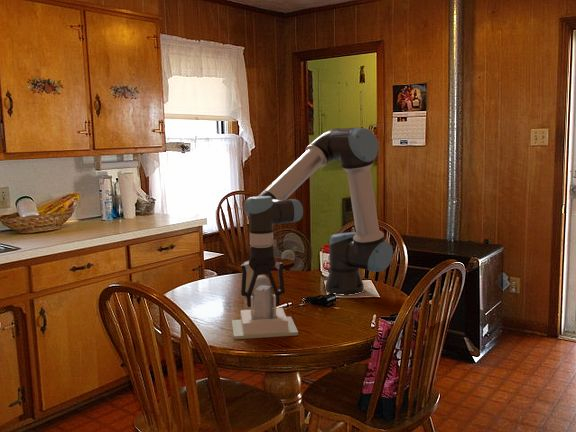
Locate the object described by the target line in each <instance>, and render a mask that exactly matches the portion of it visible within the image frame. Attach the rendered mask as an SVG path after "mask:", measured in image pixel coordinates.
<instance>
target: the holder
mask: <svg viewBox="0 0 576 432" xmlns="http://www.w3.org/2000/svg"><path fill="white" fill-rule="evenodd" d="M231 329H232V336H233V340H243V339H259V338H260V339H261V338H276V337H289V336H290V337H291V336H292V337H293V336H299V331H298V328H297V327H296V323H295V322H294V319H293V318H292V316H287V315H286V312H285V311H284V308H283V307H276V316H274V315H273V319H260V320H254V318H251V309H241V310H240V319H231Z"/></svg>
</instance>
